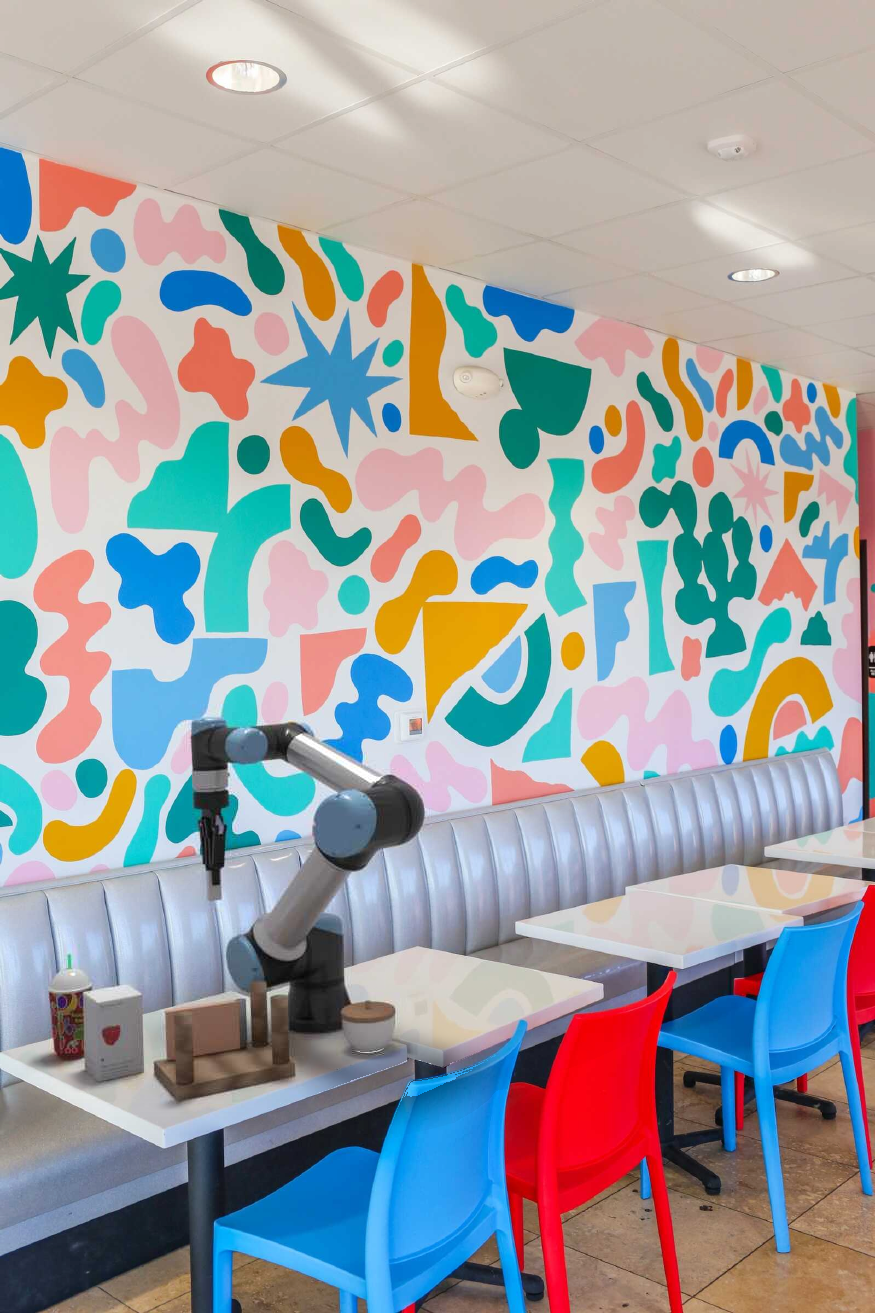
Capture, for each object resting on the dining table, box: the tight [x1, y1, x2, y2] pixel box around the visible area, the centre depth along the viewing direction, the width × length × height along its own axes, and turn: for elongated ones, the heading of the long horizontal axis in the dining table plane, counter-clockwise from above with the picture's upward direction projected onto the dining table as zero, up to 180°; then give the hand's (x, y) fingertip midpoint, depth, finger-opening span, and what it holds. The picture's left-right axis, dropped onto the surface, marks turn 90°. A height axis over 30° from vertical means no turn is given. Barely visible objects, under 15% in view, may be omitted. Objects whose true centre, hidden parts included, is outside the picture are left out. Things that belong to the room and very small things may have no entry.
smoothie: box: [47, 953, 93, 1060], centre depth 231 cm, size 8×8×20 cm
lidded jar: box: [341, 999, 396, 1052], centre depth 230 cm, size 11×11×9 cm
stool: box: [153, 981, 296, 1102], centre depth 217 cm, size 22×16×14 cm
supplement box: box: [83, 984, 145, 1083], centre depth 221 cm, size 9×9×15 cm
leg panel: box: [164, 998, 248, 1060], centre depth 222 cm, size 15×2×9 cm, turn 113°
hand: (214, 899), depth 249 cm, fingers closed
